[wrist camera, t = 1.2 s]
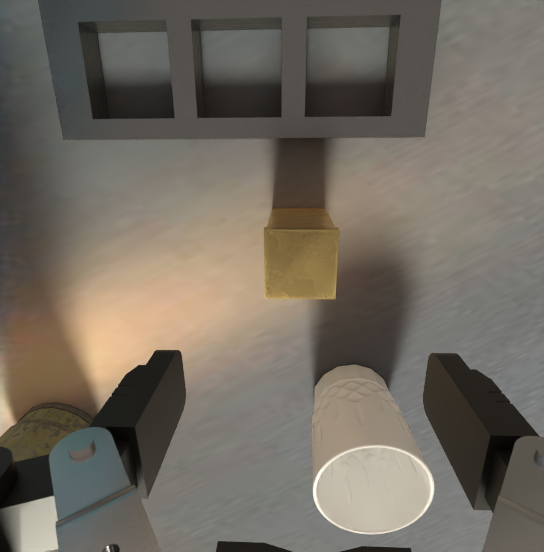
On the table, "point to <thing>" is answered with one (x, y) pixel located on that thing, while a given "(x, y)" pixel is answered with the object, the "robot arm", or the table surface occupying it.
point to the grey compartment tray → (188, 64)
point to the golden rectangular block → (300, 254)
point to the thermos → (43, 430)
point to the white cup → (365, 455)
